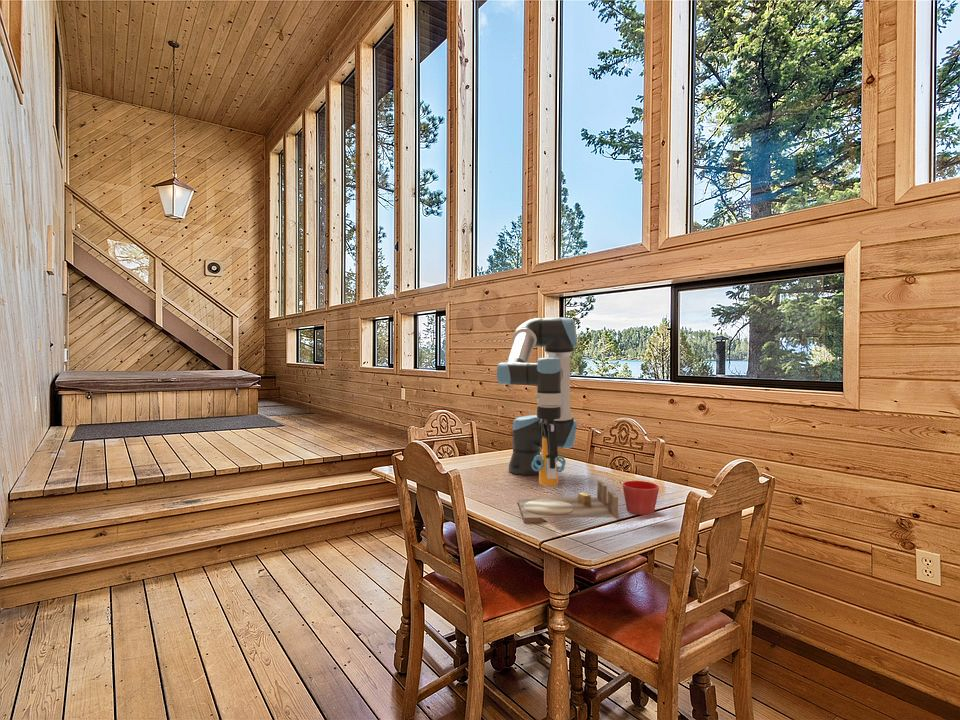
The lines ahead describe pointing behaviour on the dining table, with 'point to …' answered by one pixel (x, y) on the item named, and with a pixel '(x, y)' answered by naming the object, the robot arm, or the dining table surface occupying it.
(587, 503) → the wooden block
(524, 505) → the board
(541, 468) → the cylinder
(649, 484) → the flower pot
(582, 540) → the dining table surface
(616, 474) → the dining table surface
